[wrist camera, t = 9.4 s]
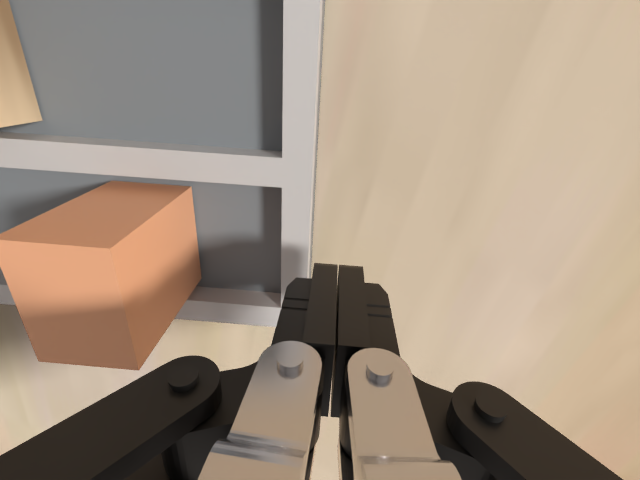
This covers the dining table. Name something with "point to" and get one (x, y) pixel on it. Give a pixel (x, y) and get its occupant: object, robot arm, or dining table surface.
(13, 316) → the dining table surface
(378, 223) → the dining table surface
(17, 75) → the tan block
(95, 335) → the orange rectangular block
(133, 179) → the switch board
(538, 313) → the dining table surface
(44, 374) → the dining table surface
